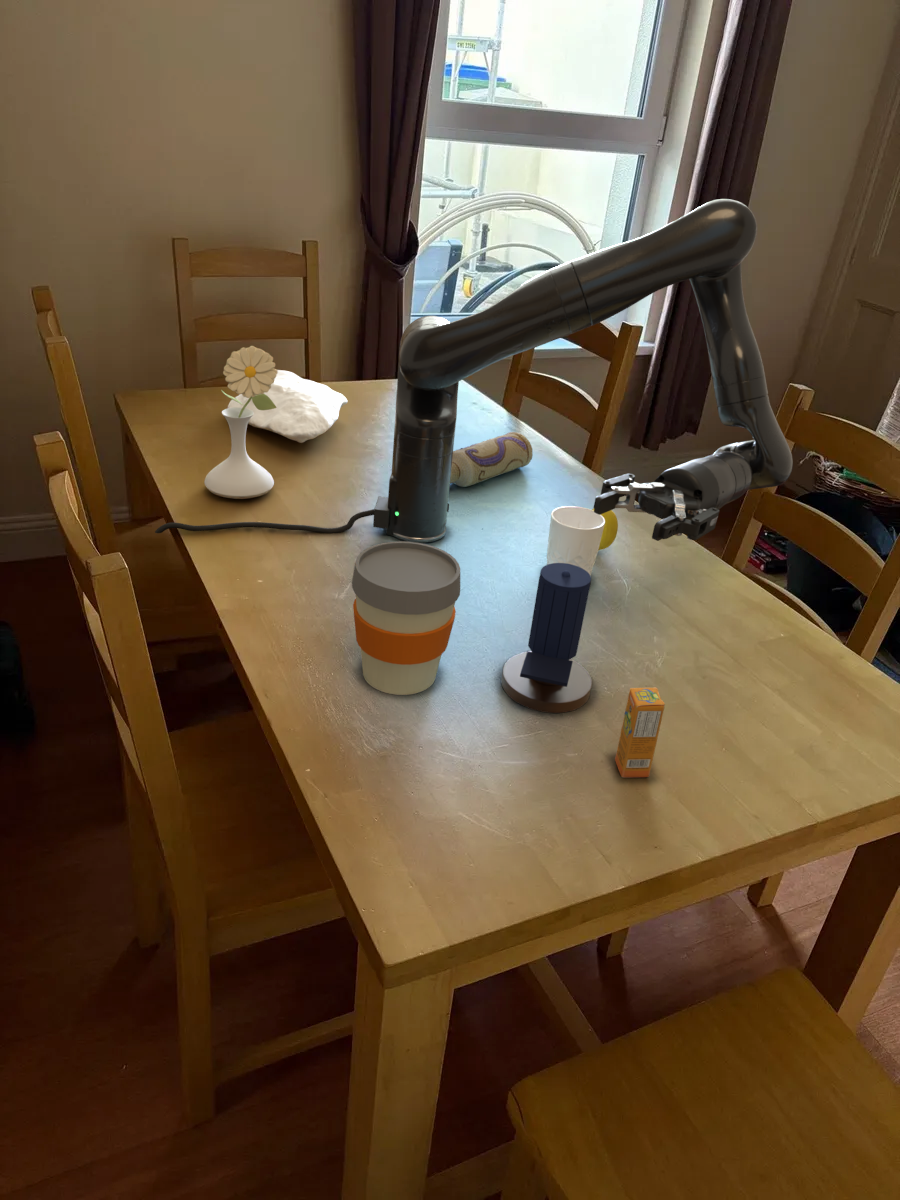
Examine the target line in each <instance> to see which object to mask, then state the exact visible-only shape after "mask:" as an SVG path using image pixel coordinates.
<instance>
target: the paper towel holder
mask: <svg viewBox="0 0 900 1200" xmlns="http://www.w3.org/2000/svg"><path fill="white" fill-rule="evenodd" d="M527 652H532V651H531V650H527V651H523V652H520V653H517V654H514V655H512V656H511V657H509V658H508V659H507V660H506V661H505V663H504V664H503V667H502V672H501V679H500V681H501V686H502V689H503V691H504V692H505V693H506V695H507V696H508V697H509V698H510V699H511V700H513V701H514V702H515V703H517V704H519V705H521V706H522V707H525V708H527V709H530V710H534V711H536V712H537V711H538V712H542V713H549V714H550V713H551V714H561V713H567V712H572V711H575V710H577V709H580V708H581V707H583V706H584V705H585V704H586V703H587V702H588V701H589V698H590V697H591V691H592V686H593V680H592V677H591V674H590V673H589V671H588V669H586V667H584V666H583V665H582V664H581V663H579V662H578V661H576V660H574V658H571V659H570V661H573V663H572V667H571V672H570V676H569V680H568V684H567V687H565V686H560V685H556V684H551V683H547V682H542V681H538V680H533V679H528V678H524V677H520V673H521V670H522V667H523V664H524V661H525V657H526V654H527Z"/></svg>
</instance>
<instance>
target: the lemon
mask: <svg viewBox="0 0 900 1200" xmlns="http://www.w3.org/2000/svg"><path fill="white" fill-rule="evenodd" d="M591 510H593V511H594V508H592V509H591ZM601 515H602V516H603V517H604V519H605V525H604V529H603V533H602V537H601V541H600V545H599V549H598V552H599V551H602V550H605V549H607V548H609V547H610V546H611V545H613V544H614V542H615V540H616V538H617V535H618V530H619V522H618V517H617V515H616V513H615V512H614V511H613V510H610V511H608V512H605V513H603V514H601Z"/></svg>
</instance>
